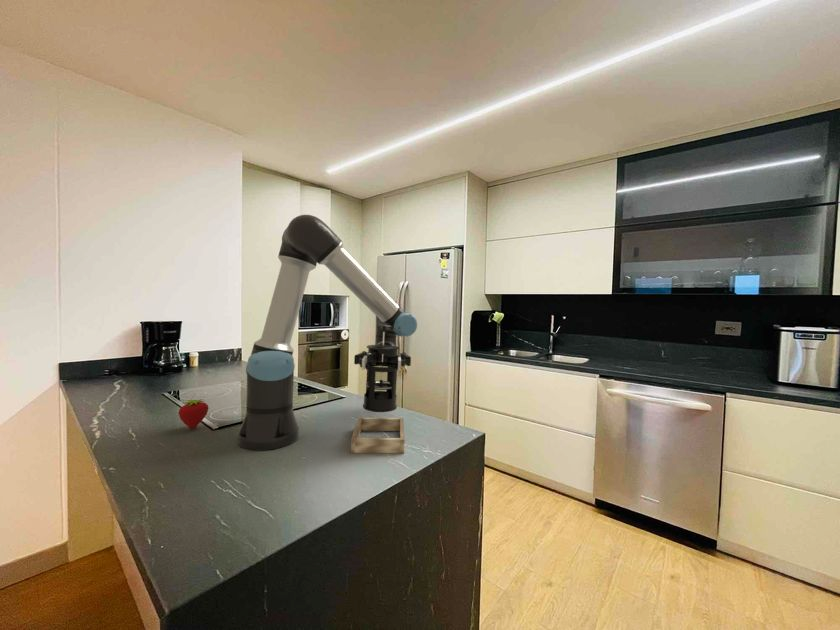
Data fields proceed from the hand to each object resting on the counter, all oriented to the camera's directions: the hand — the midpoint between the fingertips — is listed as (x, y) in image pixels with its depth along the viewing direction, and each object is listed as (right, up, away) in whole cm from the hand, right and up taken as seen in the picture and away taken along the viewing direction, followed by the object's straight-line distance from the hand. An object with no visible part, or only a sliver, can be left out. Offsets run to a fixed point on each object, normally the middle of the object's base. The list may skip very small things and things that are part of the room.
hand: (381, 365), depth 89 cm
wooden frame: (-1, -22, +5) cm, 22 cm away
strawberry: (-56, -20, +8) cm, 60 cm away
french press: (-1, -12, +5) cm, 13 cm away
